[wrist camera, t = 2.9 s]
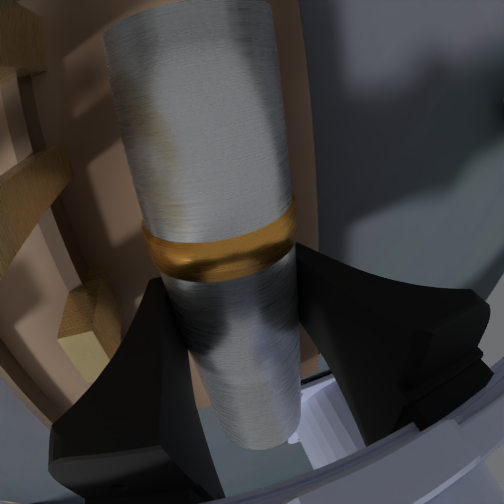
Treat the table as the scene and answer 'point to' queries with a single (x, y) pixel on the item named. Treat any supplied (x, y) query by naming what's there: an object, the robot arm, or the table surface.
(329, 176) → the table surface
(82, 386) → the stand board
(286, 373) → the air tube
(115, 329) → the tan blocks
